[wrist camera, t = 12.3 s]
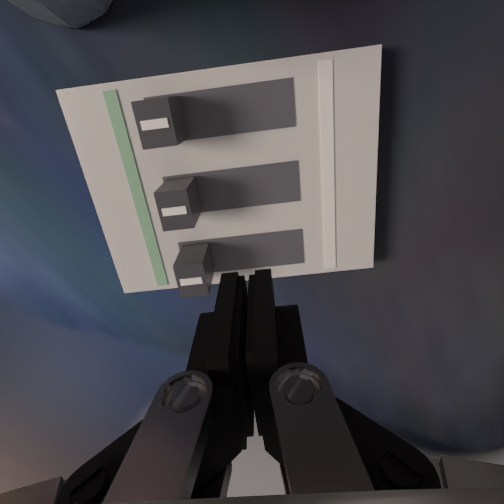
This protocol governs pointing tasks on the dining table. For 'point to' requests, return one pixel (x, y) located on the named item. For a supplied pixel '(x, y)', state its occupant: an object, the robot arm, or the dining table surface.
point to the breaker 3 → (194, 270)
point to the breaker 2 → (178, 203)
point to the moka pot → (64, 11)
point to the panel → (240, 166)
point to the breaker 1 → (160, 122)
